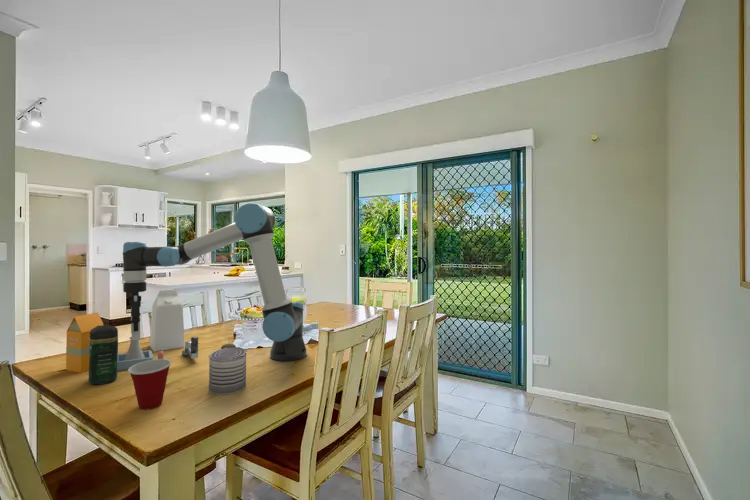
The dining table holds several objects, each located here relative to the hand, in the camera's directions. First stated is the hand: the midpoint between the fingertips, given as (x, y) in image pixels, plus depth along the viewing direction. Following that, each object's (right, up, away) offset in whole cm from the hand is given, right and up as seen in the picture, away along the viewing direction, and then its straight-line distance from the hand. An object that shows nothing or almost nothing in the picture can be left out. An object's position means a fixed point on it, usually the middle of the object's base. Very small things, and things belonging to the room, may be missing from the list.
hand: (135, 336), depth 144 cm
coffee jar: (0, -11, -17) cm, 21 cm away
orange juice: (-15, -11, -5) cm, 19 cm away
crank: (+17, -9, +9) cm, 22 cm away
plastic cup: (+28, -12, -36) cm, 47 cm away
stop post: (+8, -11, +3) cm, 14 cm away
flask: (0, -10, 0) cm, 10 cm away
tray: (-1, -11, 0) cm, 11 cm away
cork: (+40, -12, -10) cm, 43 cm away
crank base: (+14, -11, +14) cm, 23 cm away
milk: (-2, -11, +26) cm, 28 cm away
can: (+45, -12, -22) cm, 51 cm away
